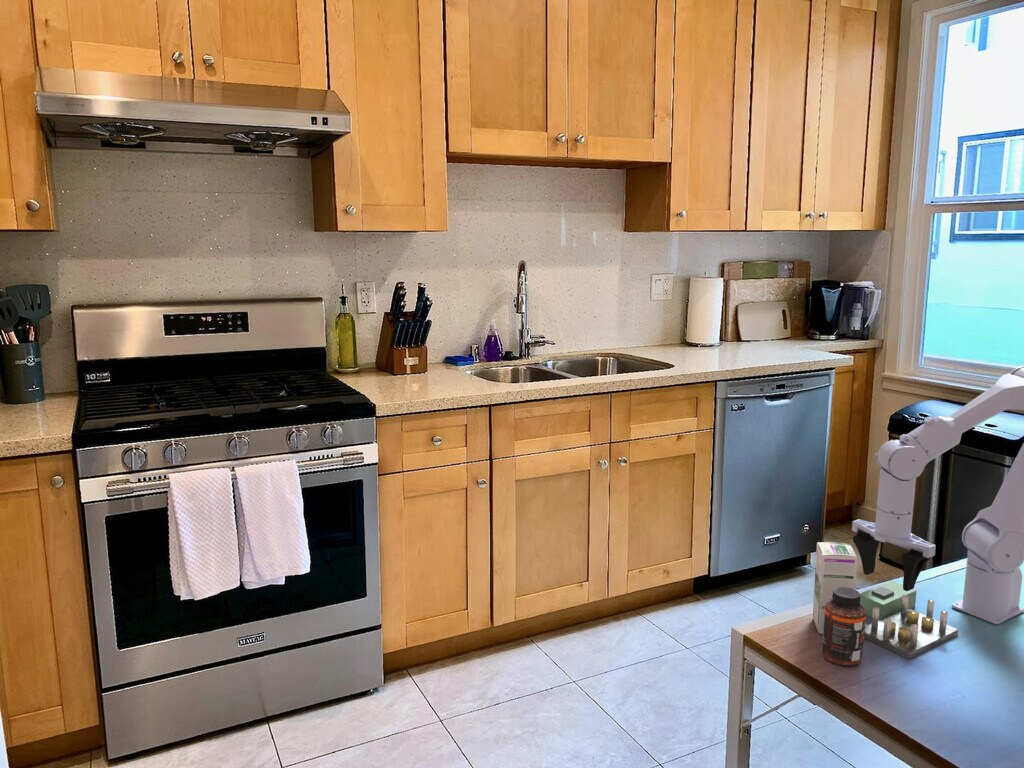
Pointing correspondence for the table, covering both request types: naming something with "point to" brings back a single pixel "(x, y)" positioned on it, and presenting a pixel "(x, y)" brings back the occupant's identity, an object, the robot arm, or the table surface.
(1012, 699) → the table surface
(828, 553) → the syrup box
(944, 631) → the chassis
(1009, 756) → the table surface
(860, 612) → the supplement bottle
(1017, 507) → the robot arm
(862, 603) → the green rectangular block
